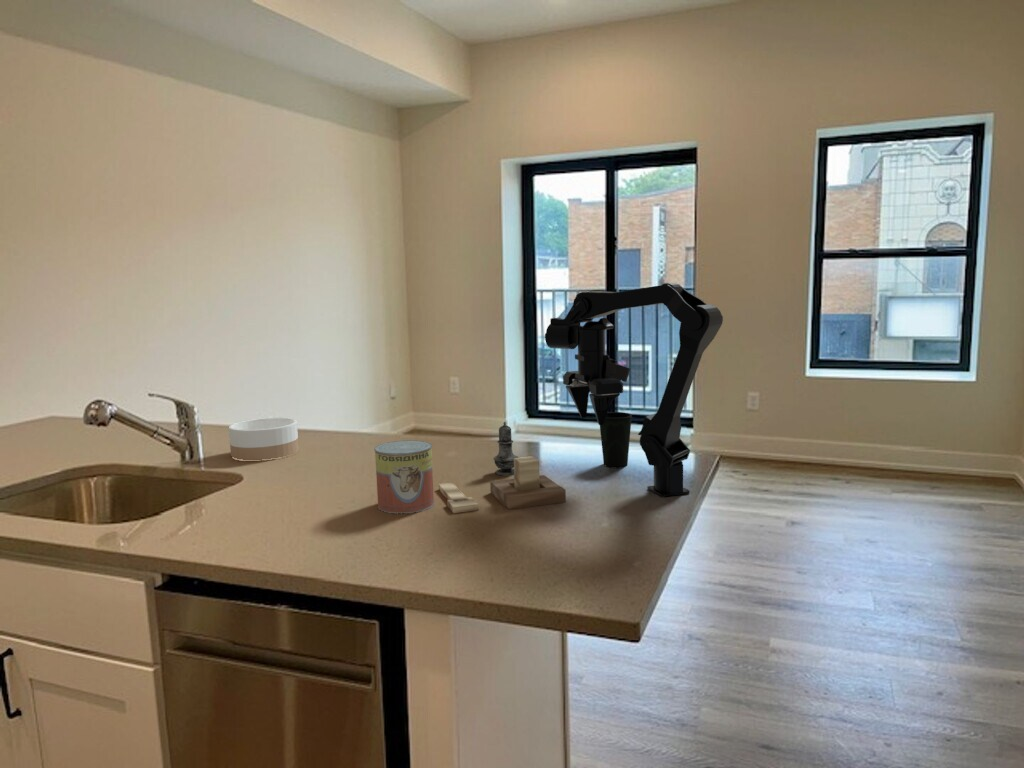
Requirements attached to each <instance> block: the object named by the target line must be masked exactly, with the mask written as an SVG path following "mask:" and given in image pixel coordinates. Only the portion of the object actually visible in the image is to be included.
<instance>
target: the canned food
mask: <svg viewBox="0 0 1024 768" xmlns="http://www.w3.org/2000/svg"><path fill="white" fill-rule="evenodd" d="M432 448H433V445H432V443H430V442H428V441H424V440H397V441H396V440H395V441H390V442H385V443H382V444H381V443H380V444H378V445H376V446H375V447H374V453H375V454H374V456H375V472H376V473H375V475H376V490H377V491H376V492H377V510H379V511H380V510H381V511H380V512H382V511H384V512H383V513H385V512H388V513H387V514H391V513H397V514H396V515H399V514H398V513H401V514H400V515H403V514H402V513H409V514H414V513H413V512H416V513H420V511H421V512H424V511H427V510H429V509H431V508H433V507H434V506H435V499H434V498H435V497H434V477H433V471H434V469H433V453H432V452H433V450H432Z"/></svg>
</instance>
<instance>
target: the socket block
mask: <svg viewBox="0 0 1024 768" xmlns="http://www.w3.org/2000/svg"><path fill="white" fill-rule="evenodd" d="M539 482H540V488H538V489H530V490H522V491H517V490H516V489H515V484H514V478H508V479H499V480H490V481H489V483H490V494H491V495H492V496H493V497H494V498H496V499H497V500H498V501H499V502H500V503H501V504H502V505H503V506H504V507H505V508H507V510H515V509H521V508H530V507H531V508H532V507H538V506H544V505H545V506H546V505H552V504H560V503H561V504H562V503H566V502H567V498H566V497H567V496H566V494H567V493H566V492H567V491H566V489H565V488H564V487H562V486H561V485H560V484H558V483H556V482H555V481H553V480H552V479H550V478H549V477H547V476H546V475H545V474H539Z"/></svg>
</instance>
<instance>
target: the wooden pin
mask: <svg viewBox="0 0 1024 768" xmlns="http://www.w3.org/2000/svg"><path fill="white" fill-rule="evenodd" d="M513 469H514V475H513V479H514V484H515V489H516V490H517V491H522V490H530V489H538V488H540V482H539V476H540V460H539V459H538V458H536V457H534V456H531V455H530V456H529V455H528V456H522V457H519V458H514V468H513Z"/></svg>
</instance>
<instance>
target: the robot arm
mask: <svg viewBox="0 0 1024 768" xmlns="http://www.w3.org/2000/svg"><path fill="white" fill-rule="evenodd" d="M661 304H663V305H664V306H665V307H666V309H668V311H669V312H670V314H671V315H672V316H673V317H674V318H675V319H676V320H677V321H679V322H680V326H679V329H678V330H679V332H678V336H679V337H678V338H679V349H678V352H677V355H676V358H675V361H674V363H673V367H672V369H671V372H670V375H669V378H668V380H667V383H666V385H665V388H664V392H663V394H662V397H661V401H660V404H659V407H658V410H657V411H656V412H655V413H653V414H652V413H651V414H650V415H647V416H644V419H643V422H642V427H641V430H640V431H639V432H638V433H637V435H638V436H640V437H639V446H640V447H641V449H642V451H643V452H644V454H645V457H646V461H647V463H648V465H649V466H651V467H652V466H653V485H648V486H647V490H649V491H651V492H653V493H655V494H656V495H658V496H661V497H671V496H678V495H685V494H690V493H691V490H689V489H687V488H685V487H684V464H683V461H686V460H688V459H689V455H690V453H691V450H690V448H689V447H688V446H687V445H686V444H685V443H684V441H683V440H682V439H681V438H680V436H681V431H682V422H681V415H682V412H683V408H684V406H685V404H686V401H687V398H688V396H689V393H690V390H691V386H692V385H693V381H694V378H695V376H696V373H697V370H698V368H699V364H700V361H701V360H702V356H703V353H705V350H706V349H707V348H708V347H709V346H710V344H712V342H713V341H714V339H715V337H716V336H717V334H718V332H719V331H720V329H721V327H722V325H723V322H724V316H723V314H722V312H721V310H720V309H719V308H718V307H717V306H715V305H713V304H708V303H706V302H705V301H704V300H702V299H701V298H700V297H698V296H696V295H694V294H692V293H691V292H689V291H688V290H686V289H685V288H684V286H683V287H682V285H681V284H679V283H677V282H664V283H662V284H660V285H654V286H646V287H641V288H640V287H639V288H634V289H629V290H623V291H622V290H621V291H616V292H615V291H601V290H597V291H581V292H579V293H577V294H576V296H575V297H574V299H573V302H572V306H571V308H570V310H569V311H568V313H567V314H566V316H565V317H564V318H561V317H552V318H550V321H549V322H550V324H549V325H548V326H547V327H546V330H545V331H546V332H545V334H544V340H545V344H546V346H547V347H548V348H549V349H562V350H564V349H565V350H575V349H576V348H577V353H576V354H574V359H575V360H577V362H578V363H577V365H578V367H577V368H578V369H577V370H573V371H572V370H570V371H566V372H565V373H564V374H563V375H562V383H563V385H566V386H565V389H566V390H567V392H568V393H569V395H570V397H571V399H572V401H573V404H574V406H575V407H576V409H577V411H578V413H579V416H580V418H582V419H586V418H587V414H588V407H589V398H590V402H591V405H592V409H593V412H594V415H595V418H596V421H597V423H598V425H599V426H600V425H604V423H605V420H606V416H607V413H608V412H609V409H610V406H611V404H612V402H613V400H615V398H617V397H619V396H620V395H621V394H623V393H624V383H626V382H627V381H628V378H629V376H630V375H629V374H630V371H631V368H630V367H628V366H624V365H620V364H618V361H617V360H615V359H612V358H610V355H609V354H606V351H605V350H606V349H605V346H606V343H605V341H606V339H605V337H606V336H605V334H606V333H605V330H612V329H615V328H614V327H615V325H614V324H612V323H611V322H610V321H609V320H608V319H607V317H606V316H608V315H611V314H613V313H616V312H618V311H621V310H627V309H631V308H633V309H634V308H640V307H647V306H653V305H661ZM598 318H599V320H597V321H595V320H594V319H598ZM581 323H582V324H583V323H584V324H583V325H581Z"/></svg>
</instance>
